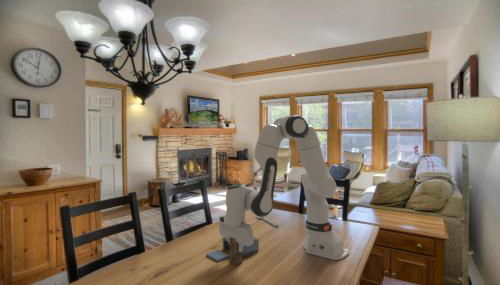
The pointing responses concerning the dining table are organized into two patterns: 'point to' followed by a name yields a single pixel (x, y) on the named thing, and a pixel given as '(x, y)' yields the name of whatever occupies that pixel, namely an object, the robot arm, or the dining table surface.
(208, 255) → the pad
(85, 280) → the dining table surface
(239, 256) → the brown block
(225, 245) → the guard
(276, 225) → the adjustable wrench
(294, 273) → the dining table surface
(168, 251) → the dining table surface
